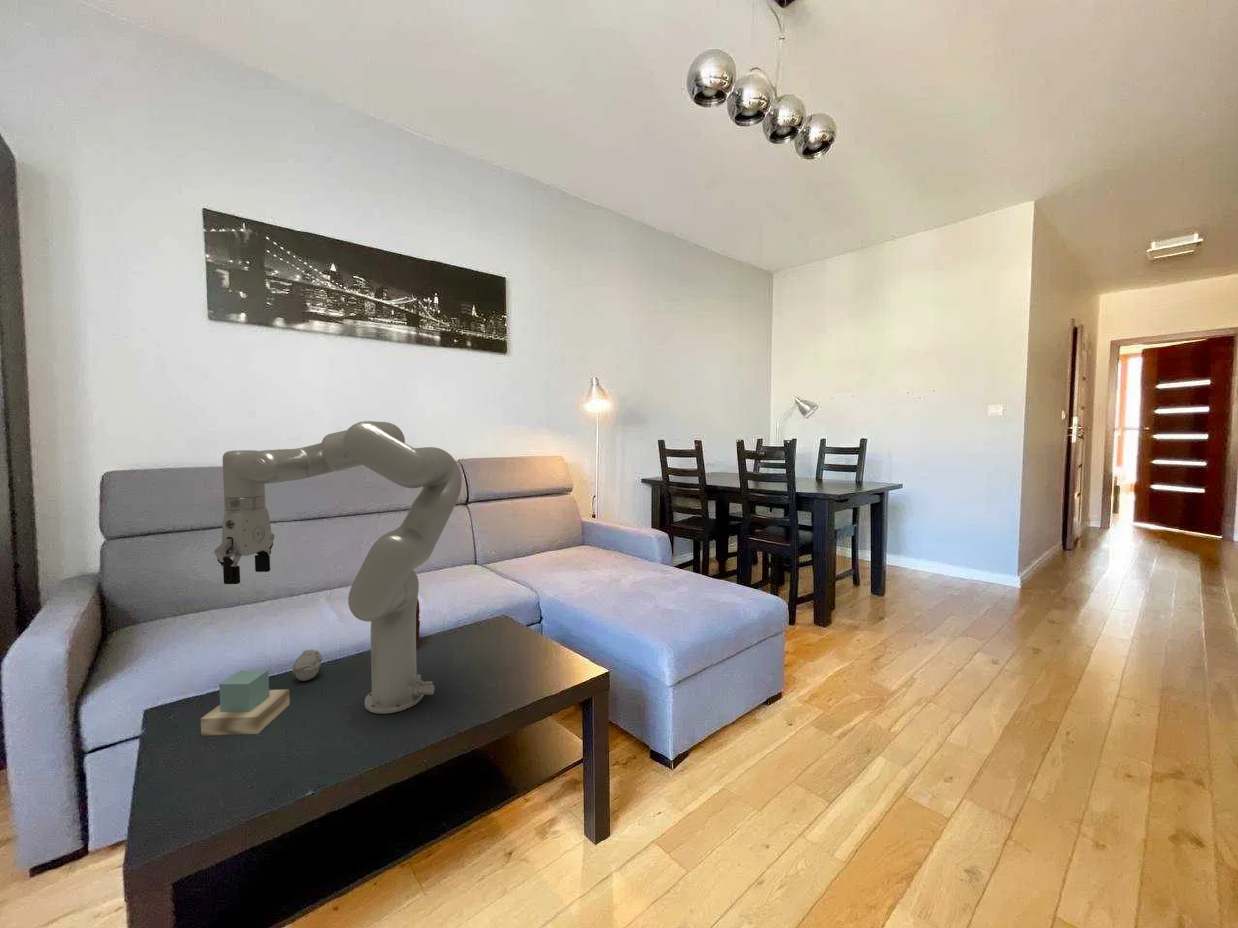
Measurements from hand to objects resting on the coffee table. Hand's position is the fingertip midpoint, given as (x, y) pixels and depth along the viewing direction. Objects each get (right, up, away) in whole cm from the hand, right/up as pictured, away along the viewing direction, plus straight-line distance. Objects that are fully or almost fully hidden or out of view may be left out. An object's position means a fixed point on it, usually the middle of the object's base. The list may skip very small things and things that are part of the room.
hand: (248, 577), depth 114 cm
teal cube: (+6, -25, -8) cm, 27 cm away
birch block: (+6, -29, -8) cm, 31 cm away
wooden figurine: (+23, -27, +30) cm, 47 cm away
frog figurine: (+8, -28, +10) cm, 31 cm away
